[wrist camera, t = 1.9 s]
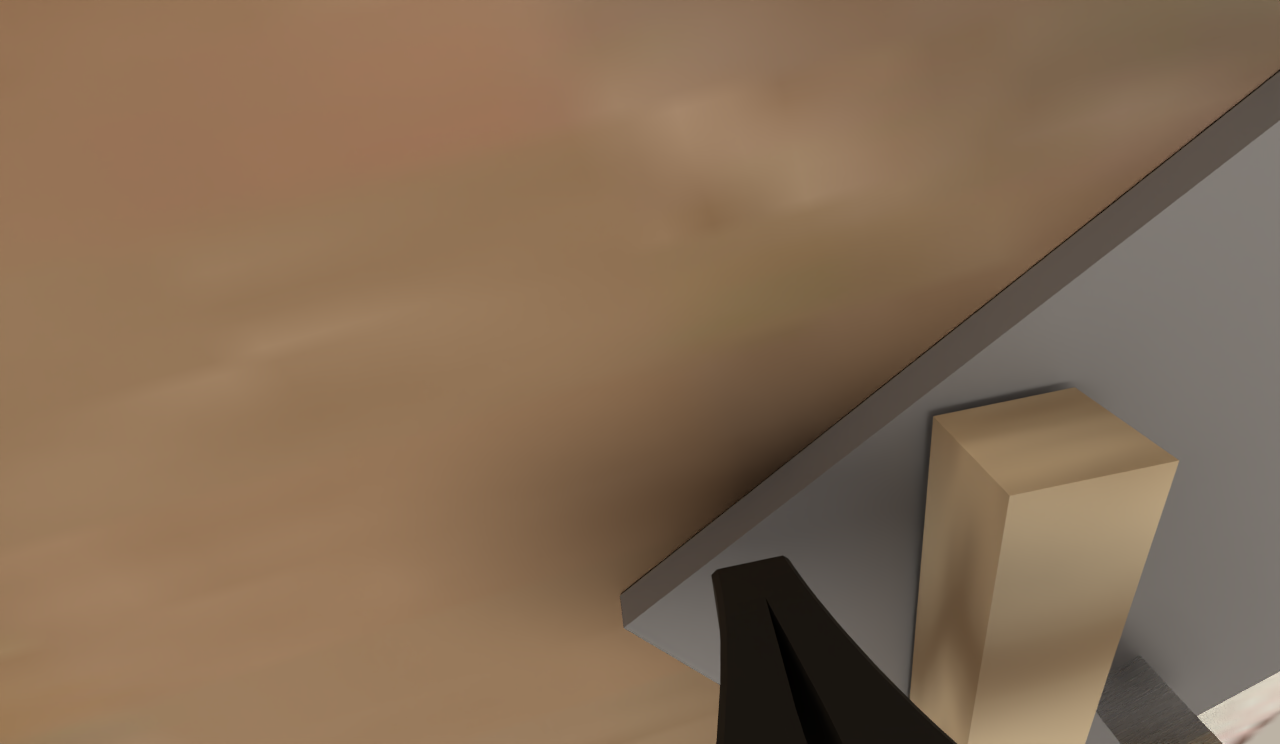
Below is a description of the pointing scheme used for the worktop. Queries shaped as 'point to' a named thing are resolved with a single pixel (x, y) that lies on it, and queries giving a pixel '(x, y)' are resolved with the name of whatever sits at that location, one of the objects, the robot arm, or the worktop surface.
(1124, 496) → the oak link
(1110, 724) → the steel keeper
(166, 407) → the worktop surface
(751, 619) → the robot arm
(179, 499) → the worktop surface
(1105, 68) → the worktop surface
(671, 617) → the slate board
